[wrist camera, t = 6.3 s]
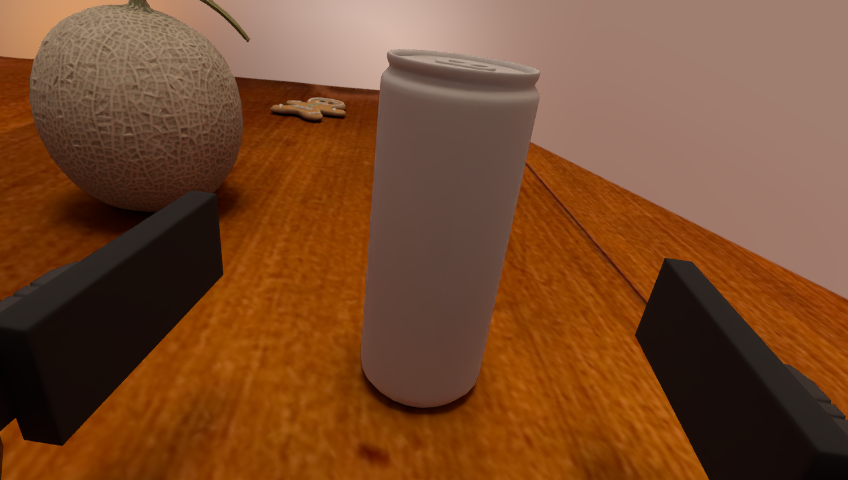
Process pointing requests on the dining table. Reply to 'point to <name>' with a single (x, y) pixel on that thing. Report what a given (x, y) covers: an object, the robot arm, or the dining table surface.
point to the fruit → (136, 105)
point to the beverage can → (441, 217)
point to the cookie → (312, 108)
